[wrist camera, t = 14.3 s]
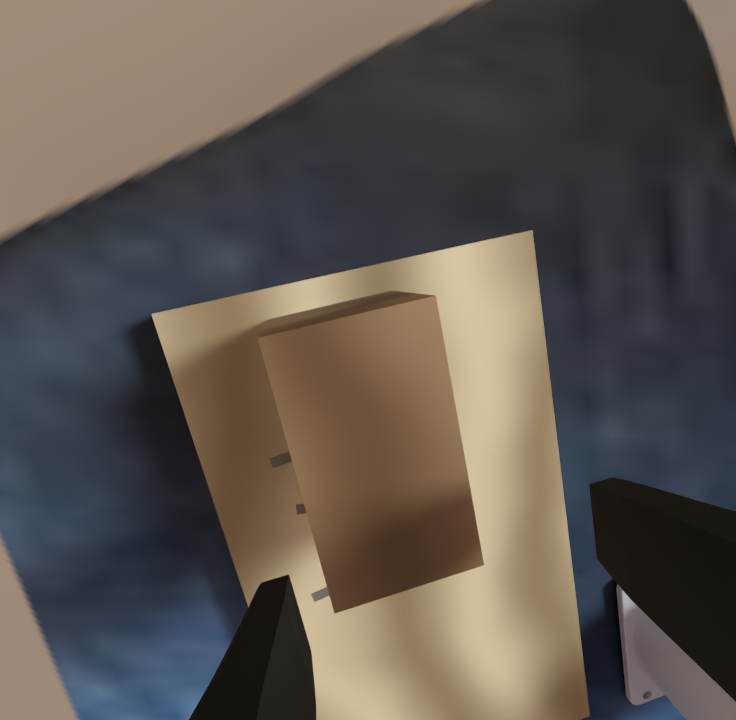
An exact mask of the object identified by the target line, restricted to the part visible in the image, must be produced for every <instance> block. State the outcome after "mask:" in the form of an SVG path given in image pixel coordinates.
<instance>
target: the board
mask: <svg viewBox="0 0 736 720" xmlns="http://www.w3.org/2000/svg"><path fill="white" fill-rule="evenodd" d="M391 290H392V291H400V292H409V293H418V294H426V295H435V296H436V299H437V305H438V310H439V316H440V321H441V327H442V333H443V338H444V344H445V349H446V355H447V361H448V366H449V372H450V377H451V383H452V388H453V394H454V400H455V405H456V411H457V416H458V422H459V428H460V433H461V439H462V444H463V450H464V456H465V461H466V467H467V472H468V478H469V483H470V489H471V495H472V500H473V506H474V511H475V517H476V523H477V528H478V534H479V539H480V545H481V551H482V556H483V562H484V565H483V566H480V567H477V568H474V569H471V570H468V571H465V572H462V573H459V574H456V575H452V576H449V577H446V578H443V579H440V580H437V581H434V582H431V583H428V584H425V585H422V586H418V587H415V588H412V589H409V590H406V591H403V592H400V593H397V594H394V595H391V596H388V597H385V598H381V599H378V600H375V601H372V602H369V603H366V604H363V605H360V606H357V607H354V608H351V609H347V610H344V611H341V612H338V613H335V614H334V610H333V606H332V603H331V599H330V596H329V592H328V588H327V585H326V581H325V578H324V574H323V570H322V567H321V563H320V560H319V556H318V553H317V549H316V545H315V542H314V538H313V535H312V531H311V527H310V524H309V520H308V517H307V513H306V509H305V506H304V502H303V499H302V495H301V492H300V488H299V484H298V481H297V477H296V474H295V470H294V466H293V463H292V459H291V456H290V452H289V448H288V445H287V441H286V438H285V434H284V431H283V427H282V423H281V420H280V416H279V413H278V409H277V405H276V402H275V398H274V395H273V391H272V387H271V384H270V380H269V377H268V373H267V370H266V366H265V362H264V359H263V355H262V352H261V348H260V344H259V341H258V336H259V335H260V333H261V332H262V330H263V328H264V327H265V325H266V324H267V322H268V320H269V319H271V318H275V317H279V316H284V315H288V314H292V313H297V312H301V311H305V310H309V309H314V308H318V307H322V306H327V305H331V304H335V303H340V302H344V301H348V300H353V299H357V298H361V297H366V296H370V295H374V294H378V293H383V292H387V291H391ZM151 315H152V318H153V321H154V324H155V327H156V330H157V333H158V336H159V339H160V342H161V345H162V348H163V351H164V354H165V357H166V360H167V363H168V366H169V369H170V372H171V375H172V378H173V381H174V384H175V387H176V390H177V393H178V396H179V399H180V402H181V405H182V408H183V411H184V414H185V417H186V421H187V424H188V427H189V430H190V433H191V436H192V439H193V442H194V445H195V448H196V451H197V454H198V457H199V460H200V463H201V466H202V469H203V472H204V475H205V478H206V481H207V484H208V487H209V490H210V493H211V496H212V499H213V502H214V505H215V508H216V511H217V514H218V517H219V520H220V523H221V526H222V529H223V532H224V535H225V538H226V541H227V544H228V547H229V550H230V553H231V556H232V559H233V562H234V566H235V569H236V572H237V575H238V578H239V581H240V584H241V587H242V590H243V593H244V596H245V599H246V602H247V605H248V607H249V605H250V603H251V601H252V599H253V597H254V594H255V592H256V590H257V588H258V587H259V585H260V584H261V583H262V582H265V581H268V580H272V579H275V578H278V577H282V576H285V575H288V574H289V576H290V580H291V583H292V587H293V590H294V593H295V597H296V600H297V604H298V607H299V611H300V614H301V617H302V621H303V624H304V628H305V631H306V634H307V638H308V641H309V645H310V648H311V653H312V663H313V674H314V684H315V696H316V720H581V719H584V718H586V717H589V716H590V712H589V704H588V695H587V687H586V678H585V670H584V662H583V653H582V645H581V636H580V628H579V619H578V611H577V602H576V594H575V586H574V577H573V569H572V560H571V552H570V543H569V535H568V526H567V518H566V510H565V501H564V493H563V484H562V476H561V467H560V459H559V450H558V442H557V434H556V425H555V417H554V408H553V400H552V391H551V383H550V374H549V366H548V358H547V349H546V341H545V332H544V324H543V315H542V307H541V298H540V290H539V282H538V273H537V265H536V256H535V248H534V239H533V231H532V230H531V231H526V232H521V233H516V234H511V235H506V236H502V237H497V238H493V239H488V240H483V241H479V242H474V243H470V244H465V245H461V246H456V247H452V248H447V249H443V250H438V251H434V252H429V253H424V254H420V255H415V256H411V257H406V258H402V259H397V260H393V261H388V262H384V263H379V264H375V265H370V266H365V267H361V268H356V269H352V270H347V271H343V272H338V273H334V274H329V275H325V276H320V277H316V278H311V279H306V280H302V281H297V282H293V283H288V284H284V285H279V286H275V287H270V288H266V289H261V290H257V291H252V292H247V293H243V294H238V295H234V296H229V297H225V298H220V299H216V300H211V301H207V302H202V303H198V304H193V305H188V306H184V307H179V308H175V309H170V310H166V311H162V312H158V313H154V314H151Z"/></svg>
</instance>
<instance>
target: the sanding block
mask: <svg viewBox="0 0 736 720" xmlns="http://www.w3.org/2000/svg"><path fill="white" fill-rule="evenodd" d="M258 341H259V344H260V348H261V352H262V355H263V359H264V362H265V366H266V370H267V373H268V377H269V380H270V384H271V387H272V391H273V395H274V398H275V402H276V405H277V409H278V413H279V416H280V420H281V423H282V427H283V431H284V434H285V438H286V441H287V445H288V448H289V452H290V456H291V459H292V463H293V466H294V470H295V474H296V477H297V481H298V484H299V488H300V492H301V495H302V499H303V502H304V506H305V509H306V513H307V517H308V520H309V524H310V527H311V531H312V535H313V538H314V542H315V545H316V549H317V553H318V556H319V560H320V563H321V567H322V570H323V574H324V578H325V581H326V585H327V588H328V592H329V596H330V599H331V603H332V606H333V610H334V614H335V613H338V612H341V611H344V610H347V609H351V608H354V607H357V606H360V605H363V604H366V603H369V602H372V601H375V600H378V599H381V598H385V597H388V596H391V595H394V594H397V593H400V592H403V591H406V590H409V589H412V588H415V587H418V586H422V585H425V584H428V583H431V582H434V581H437V580H440V579H443V578H446V577H449V576H452V575H456V574H459V573H462V572H465V571H468V570H471V569H474V568H477V567H480V566H483V565H484V562H483V556H482V551H481V545H480V539H479V534H478V528H477V523H476V517H475V511H474V506H473V500H472V495H471V489H470V483H469V478H468V472H467V467H466V461H465V456H464V450H463V444H462V439H461V433H460V428H459V422H458V416H457V411H456V405H455V400H454V394H453V388H452V383H451V377H450V372H449V366H448V361H447V355H446V349H445V344H444V338H443V333H442V327H441V321H440V316H439V310H438V305H437V299H436V296H435V295H426V294H418V293H409V292H400V291H392V290H391V291H387V292H383V293H378V294H374V295H370V296H366V297H361V298H357V299H353V300H348V301H344V302H340V303H335V304H331V305H327V306H322V307H318V308H314V309H309V310H305V311H301V312H297V313H292V314H288V315H284V316H279V317H275V318H271V319H269V320H268V322H267V324H266V325H265V327H264V328H263V330H262V332H261V333H260V335H259V336H258Z"/></svg>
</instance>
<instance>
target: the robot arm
mask: <svg viewBox="0 0 736 720" xmlns="http://www.w3.org/2000/svg"><path fill="white" fill-rule="evenodd" d="M589 485H590V494H591V504H592V514H593V524H594V534H595V543H596V553H597V559H598V560H599V562H600V563H601V564H602V565H603V567H604V568H605V569H606V570H607V572H608V573H609V574H610V575H611V577H612V578H613V579H614V580H615V582H616V583H617V588H616V591H617V602H618V613H619V624H620V635H621V646H622V657H623V667H624V678H625V689H626V697H627V699H628V700H629V701H630V702H631V703H632V704H633V705H640V704H643V703H646V702H648V701H651V700H653V699H656V698H659V697H661V696H664V695H665V696H666V697H667V698H668V699H669V701H670V702H671V703H672V704H673V705H674V706H675V707H676V708H677V710H678V711H679V712H680V713H681V714H682V715H683V716H684V717H685V719H686V720H736V512H735V511H732V510H728V509H725V508H721V507H717V506H714V505H711V504H707V503H704V502H700V501H697V500H693V499H690V498H686V497H683V496H680V495H676V494H673V493H669V492H666V491H663V490H659V489H656V488H652V487H649V486H645V485H642V484H638V483H634V482H631V481H626V480H622V479H618V478H613V477H612V478H609V479H606V480H602V481H599V482H596V483H592V484H589ZM189 720H316V696H315V684H314V674H313V663H312V653H311V648H310V645H309V641H308V638H307V634H306V631H305V628H304V624H303V621H302V617H301V614H300V611H299V607H298V604H297V600H296V597H295V593H294V590H293V587H292V583H291V580H290V576H289V574H288V575H285V576H282V577H278V578H275V579H272V580H268V581H265V582H262V583H261V584H260V585H259V587H258V588H257V590H256V592H255V594H254V597H253V599H252V601H251V603H250V605H249V607H248V609H247V611H246V614H245V616H244V618H243V620H242V622H241V624H240V626H239V628H238V630H237V632H236V634H235V636H234V638H233V640H232V642H231V644H230V646H229V648H228V650H227V652H226V654H225V656H224V657H223V659H222V661H221V663H220V665H219V667H218V669H217V671H216V673H215V675H214V677H213V678H212V680H211V682H210V684H209V686H208V687H207V689H206V691H205V693H204V694H203V696H202V698H201V700H200V701H199V703H198V705H197V706H196V708H195V710H194V712H193V713H192V715H191V717H190V719H189Z"/></svg>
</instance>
